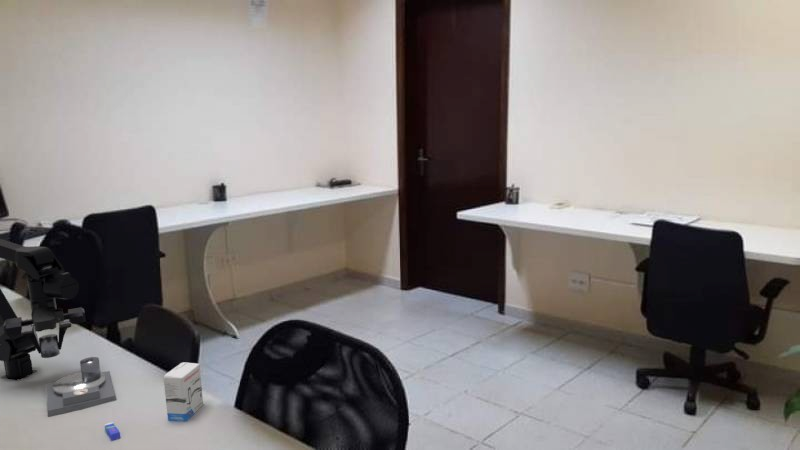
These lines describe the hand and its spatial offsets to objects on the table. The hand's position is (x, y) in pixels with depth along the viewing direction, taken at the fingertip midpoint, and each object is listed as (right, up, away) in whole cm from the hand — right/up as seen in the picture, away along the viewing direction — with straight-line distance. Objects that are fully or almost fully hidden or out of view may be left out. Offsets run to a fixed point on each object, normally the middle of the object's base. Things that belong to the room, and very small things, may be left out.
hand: (50, 351), depth 166 cm
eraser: (+29, -14, -26) cm, 42 cm away
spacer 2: (+13, -6, -4) cm, 15 cm away
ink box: (+43, -12, -18) cm, 48 cm away
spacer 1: (0, -1, 0) cm, 1 cm away
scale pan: (+11, -8, -6) cm, 15 cm away
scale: (+12, -10, -7) cm, 17 cm away
